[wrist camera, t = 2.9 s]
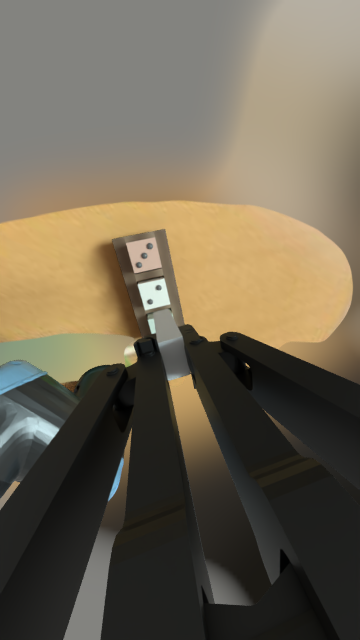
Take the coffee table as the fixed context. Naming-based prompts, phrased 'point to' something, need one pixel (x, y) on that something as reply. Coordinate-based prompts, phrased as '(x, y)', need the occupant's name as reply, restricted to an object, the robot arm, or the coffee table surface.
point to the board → (133, 278)
